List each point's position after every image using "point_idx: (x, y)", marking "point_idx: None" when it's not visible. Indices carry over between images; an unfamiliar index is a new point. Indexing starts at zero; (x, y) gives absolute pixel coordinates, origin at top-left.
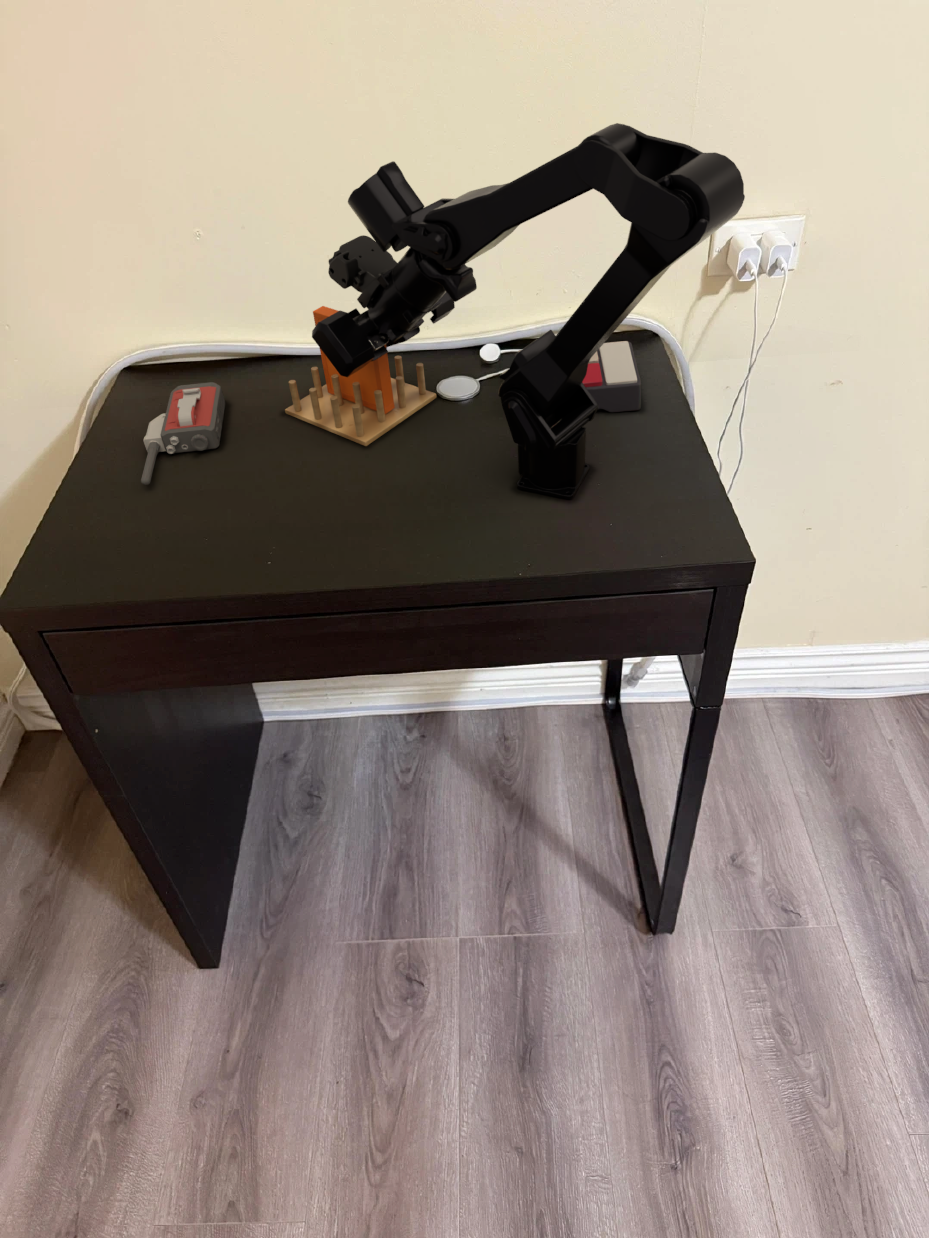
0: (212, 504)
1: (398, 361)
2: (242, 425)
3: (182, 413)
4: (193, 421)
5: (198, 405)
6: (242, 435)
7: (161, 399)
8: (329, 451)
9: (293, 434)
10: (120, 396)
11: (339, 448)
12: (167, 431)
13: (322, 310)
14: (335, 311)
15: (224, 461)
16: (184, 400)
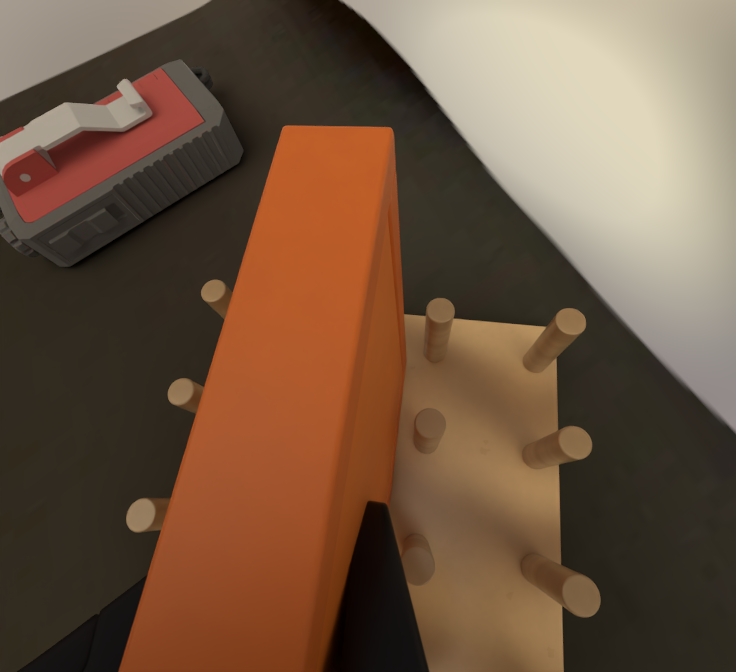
0: None
1: (562, 604)
2: (174, 250)
3: (1, 150)
4: (7, 187)
5: (104, 145)
6: (133, 278)
7: (222, 61)
8: (104, 552)
9: (165, 389)
10: (210, 8)
11: (125, 574)
12: None
13: (316, 169)
14: (340, 265)
15: (24, 315)
16: (59, 115)
